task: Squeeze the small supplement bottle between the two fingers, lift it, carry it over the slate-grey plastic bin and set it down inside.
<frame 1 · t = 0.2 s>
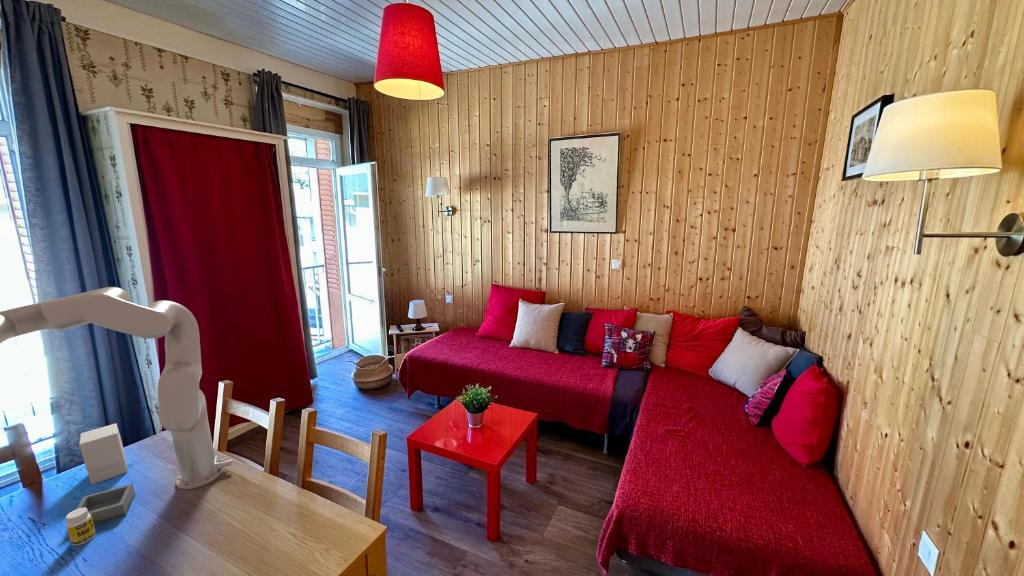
bin: (106, 511, 122), on the table
supplement box: (109, 472, 139), on the table
supplement bottle: (84, 539, 113), on the table
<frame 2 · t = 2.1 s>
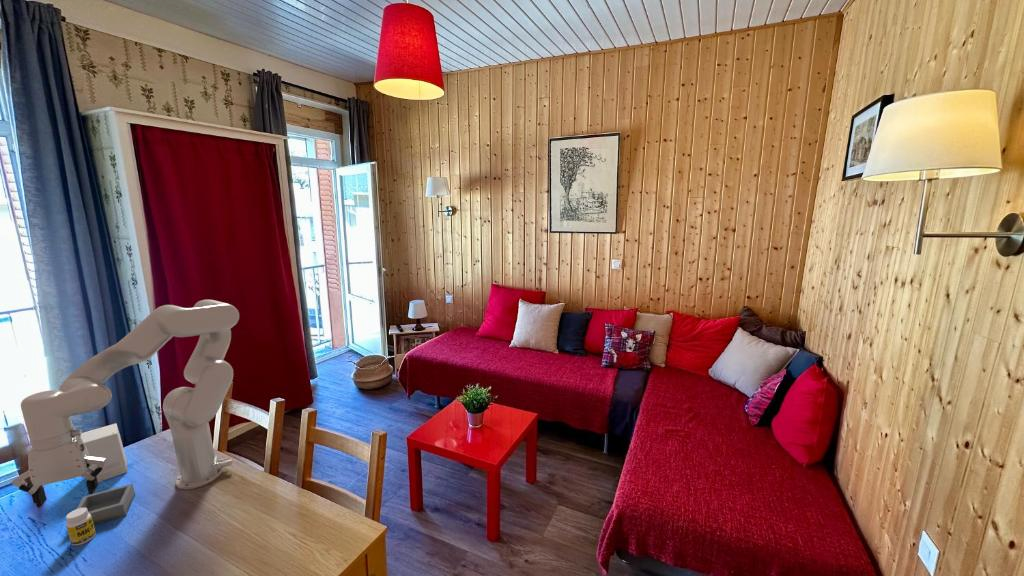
hand: (68, 497, 109), 14 cm above the table, fingers open, 9 cm apart
nothing on the table moved.
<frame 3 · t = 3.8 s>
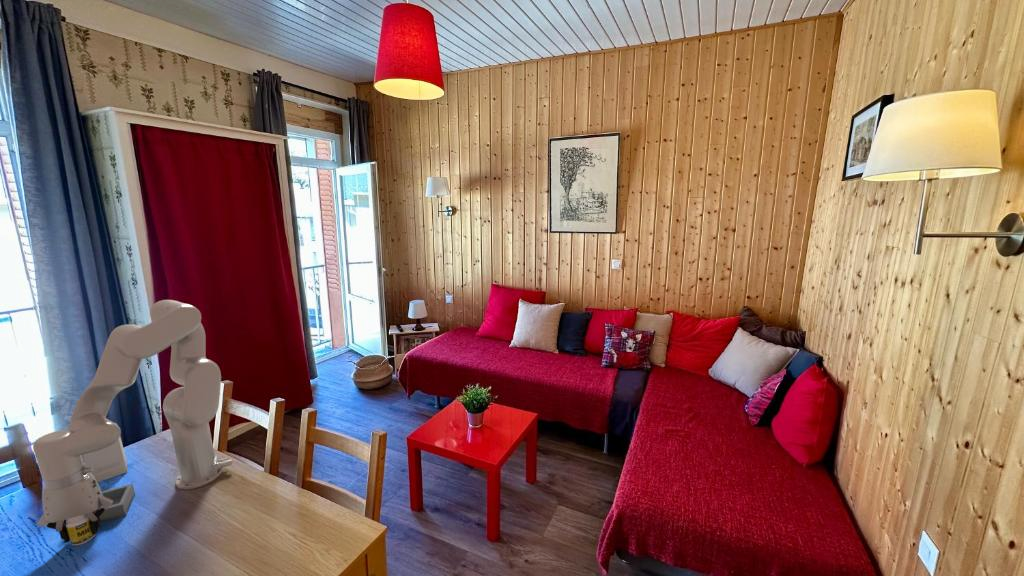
hand: (82, 534, 112), 1 cm above the table, fingers closed on supplement bottle, 4 cm apart
supplement bottle: (84, 539, 112), on the table, touching gripper
everything else where it was.
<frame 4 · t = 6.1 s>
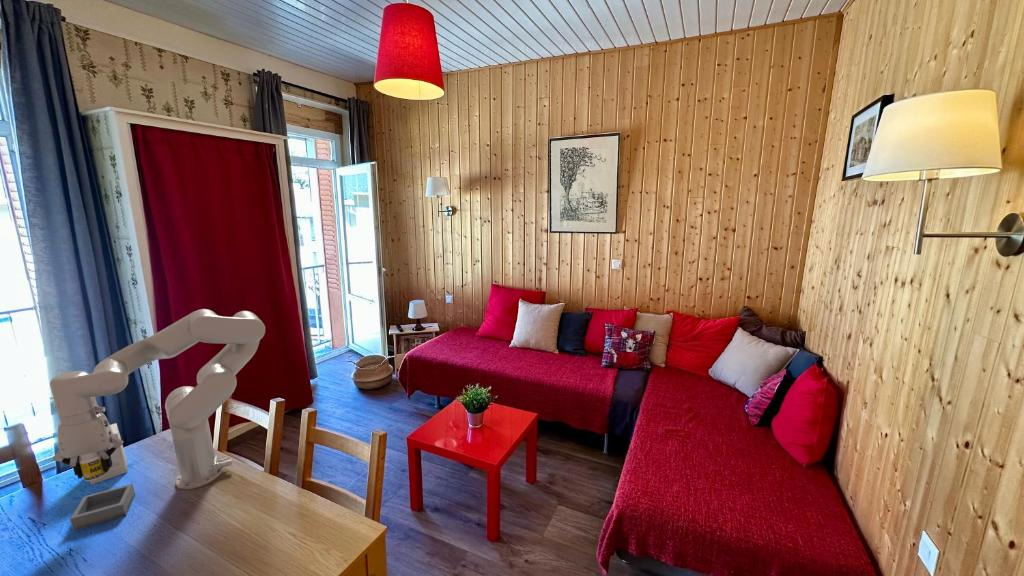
hand: (94, 472, 119), 14 cm above the table, fingers closed on supplement bottle, 4 cm apart
supplement bottle: (96, 476, 119), point 12 cm above the table, touching gripper
everything else where it was.
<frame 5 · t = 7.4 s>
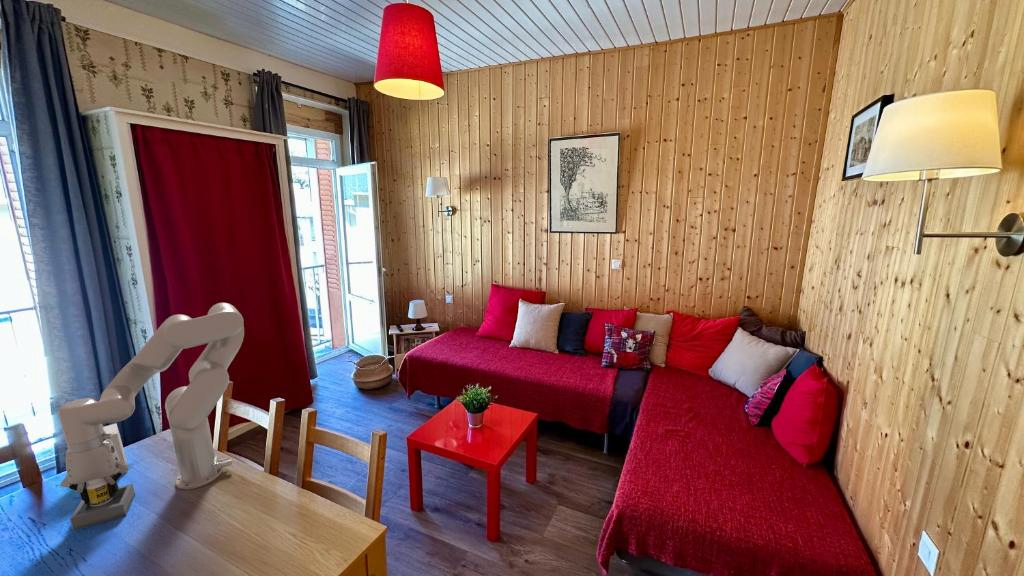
hand: (101, 496, 121), 5 cm above the table, fingers closed on supplement bottle, 4 cm apart
supplement bottle: (102, 501, 121), point 4 cm above the table, touching gripper
everything else where it was.
when the fingers open (4 cm above the table, at t = 8.4 s): supplement bottle drops 2 cm, resting on bin.
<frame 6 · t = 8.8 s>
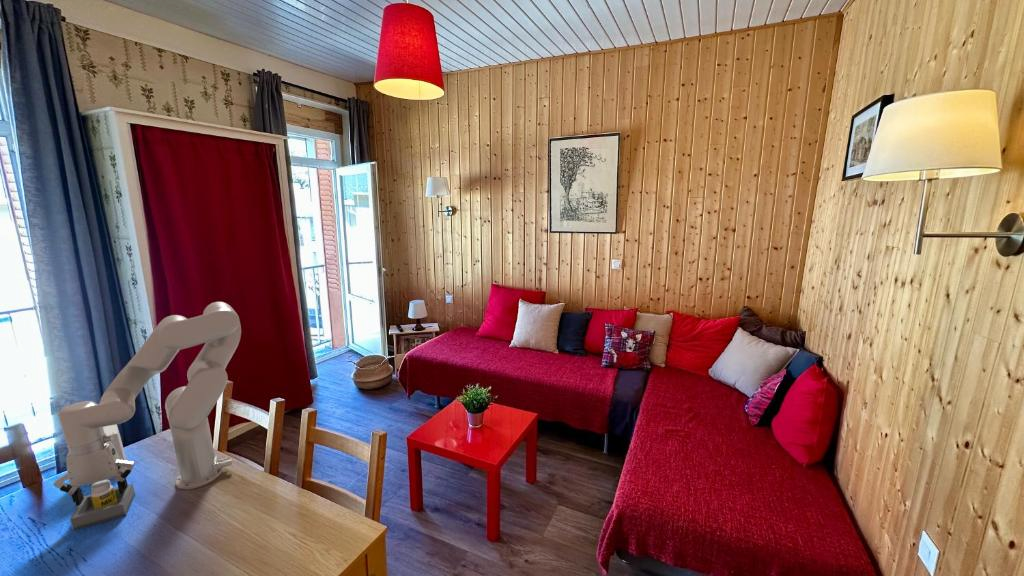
hand: (102, 496, 121), 5 cm above the table, fingers open, 9 cm apart
supplement bottle: (106, 508, 122), point 1 cm above the table, touching bin
everything else where it was.
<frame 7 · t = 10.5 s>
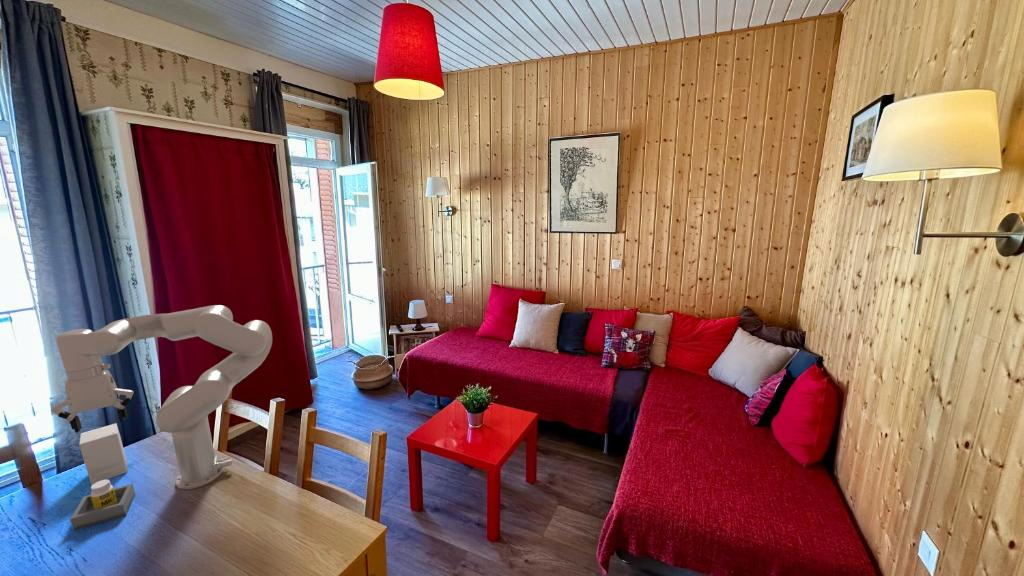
hand: (101, 424, 123), 25 cm above the table, fingers open, 9 cm apart
nothing on the table moved.
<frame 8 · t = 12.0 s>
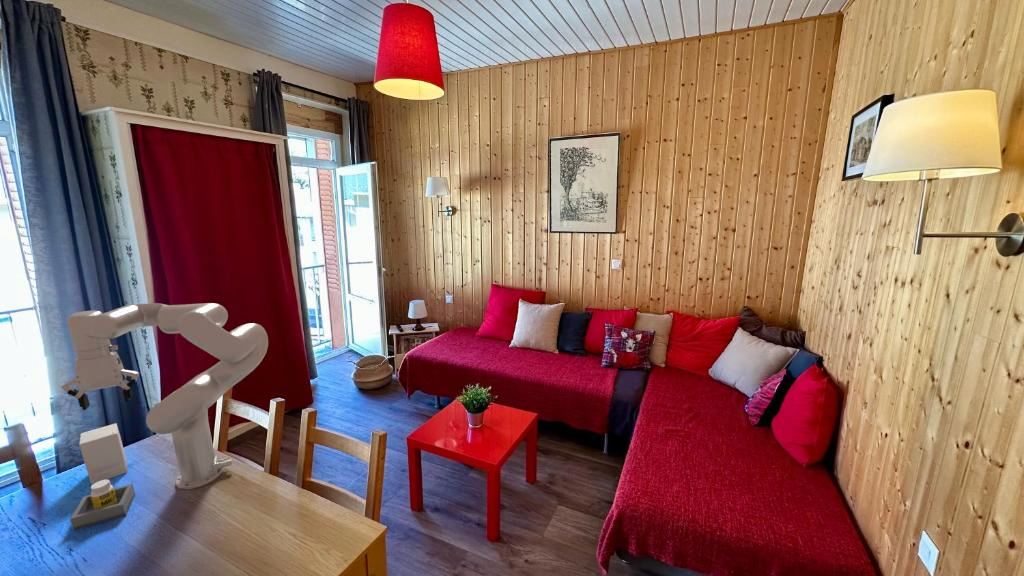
hand: (107, 403, 127), 28 cm above the table, fingers open, 9 cm apart
nothing on the table moved.
at the end: supplement bottle inside the target area on the bin (0.3 cm from its centre), point 0.8 cm above the bin's base; supplement bottle tilted 0°; the gripper is holding nothing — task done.
